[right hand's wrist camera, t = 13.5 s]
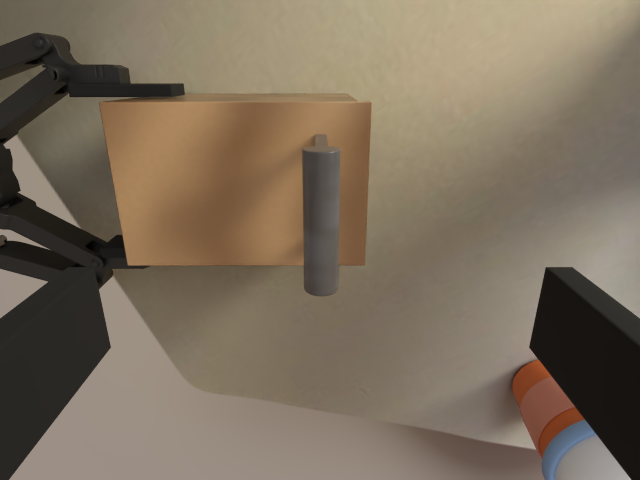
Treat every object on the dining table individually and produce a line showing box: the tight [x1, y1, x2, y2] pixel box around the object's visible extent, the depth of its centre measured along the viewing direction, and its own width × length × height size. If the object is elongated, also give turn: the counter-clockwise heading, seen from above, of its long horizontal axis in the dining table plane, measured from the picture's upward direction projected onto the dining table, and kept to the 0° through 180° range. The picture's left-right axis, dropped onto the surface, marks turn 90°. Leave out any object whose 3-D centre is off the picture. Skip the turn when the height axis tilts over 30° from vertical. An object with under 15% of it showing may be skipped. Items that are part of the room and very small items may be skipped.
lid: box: [99, 101, 372, 296], centre depth 23 cm, size 15×10×8 cm, turn 90°
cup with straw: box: [512, 360, 631, 480], centre depth 36 cm, size 9×9×18 cm
